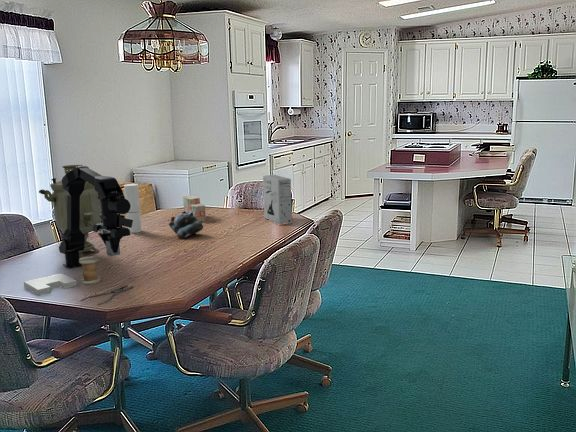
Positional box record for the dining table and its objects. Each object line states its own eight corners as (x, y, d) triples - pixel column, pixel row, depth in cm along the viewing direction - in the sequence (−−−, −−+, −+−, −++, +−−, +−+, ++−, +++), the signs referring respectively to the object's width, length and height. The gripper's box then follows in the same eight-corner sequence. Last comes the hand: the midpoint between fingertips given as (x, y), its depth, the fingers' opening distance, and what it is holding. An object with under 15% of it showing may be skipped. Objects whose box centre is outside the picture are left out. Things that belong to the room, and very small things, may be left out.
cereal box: (264, 218, 327) (262, 175, 322) (276, 217, 330) (274, 174, 325) (279, 225, 308) (278, 179, 303) (292, 223, 311) (291, 178, 306)
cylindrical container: (143, 229, 305) (140, 183, 300) (138, 232, 298) (135, 185, 293) (130, 229, 306) (126, 183, 301) (125, 232, 299) (121, 185, 294)
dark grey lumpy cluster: (179, 240, 279) (167, 215, 280) (176, 244, 290) (164, 220, 291) (206, 228, 284) (194, 203, 285) (202, 233, 295) (191, 209, 296)
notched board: (24, 286, 212) (23, 281, 212) (61, 278, 221) (60, 273, 221) (38, 295, 202) (38, 289, 202) (76, 285, 212) (76, 280, 211)
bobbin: (78, 281, 216) (75, 259, 215) (95, 277, 221) (93, 255, 219) (86, 285, 211) (83, 262, 210) (103, 281, 216) (101, 258, 214)
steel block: (106, 254, 215) (105, 240, 214) (115, 252, 217) (114, 238, 216) (111, 256, 212) (110, 241, 211) (120, 254, 215) (118, 240, 214)
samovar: (49, 265, 240) (38, 171, 232) (44, 252, 262) (34, 166, 255) (121, 255, 253) (113, 166, 245) (110, 243, 276) (103, 161, 268)
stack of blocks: (206, 221, 324) (204, 200, 321) (195, 222, 321) (194, 201, 319) (194, 215, 343) (193, 195, 340) (184, 216, 340) (182, 196, 337)
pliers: (76, 301, 193) (111, 283, 212) (77, 304, 193) (111, 285, 212) (101, 304, 190) (134, 285, 209) (101, 306, 190) (134, 287, 209)
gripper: (141, 211, 211) (144, 251, 214) (117, 205, 224) (120, 244, 227) (113, 215, 203) (117, 257, 206) (90, 210, 216) (94, 249, 219)
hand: (113, 252), depth 215 cm, fingers closed on steel block, 4 cm apart
